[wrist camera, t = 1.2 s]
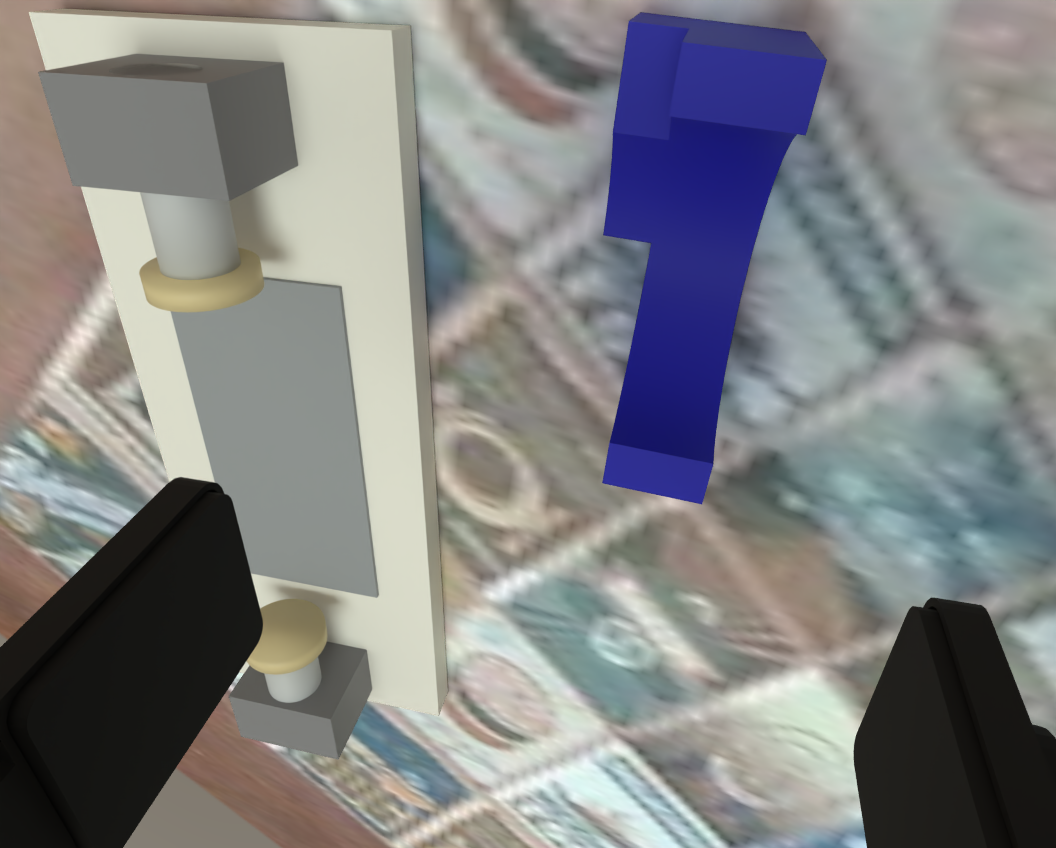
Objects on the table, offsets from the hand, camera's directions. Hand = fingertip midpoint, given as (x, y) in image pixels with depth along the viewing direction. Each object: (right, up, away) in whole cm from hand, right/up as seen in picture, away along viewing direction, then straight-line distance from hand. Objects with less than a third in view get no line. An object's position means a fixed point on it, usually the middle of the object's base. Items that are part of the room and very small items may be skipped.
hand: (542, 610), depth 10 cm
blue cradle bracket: (+5, +9, +14) cm, 17 cm away
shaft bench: (-10, +2, +22) cm, 24 cm away
